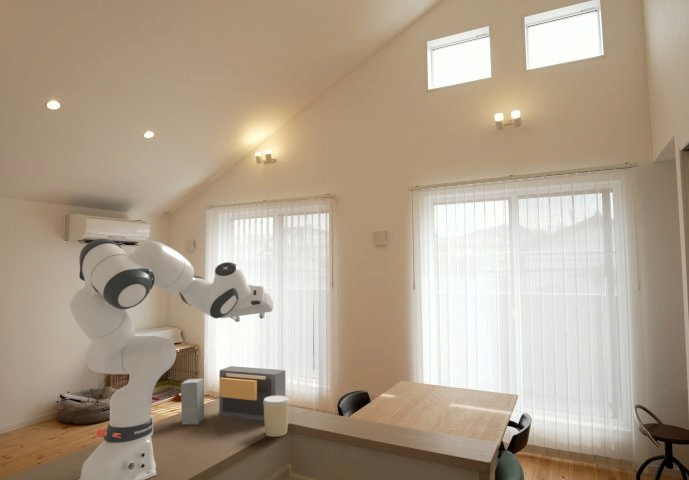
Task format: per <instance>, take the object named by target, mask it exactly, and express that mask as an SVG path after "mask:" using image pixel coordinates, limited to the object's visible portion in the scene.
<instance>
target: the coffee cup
mask: <svg viewBox="0 0 689 480" xmlns="http://www.w3.org/2000/svg"><path fill="white" fill-rule="evenodd" d="M289 403H290V399H289V397H288V396H286V395H285V396H280V395H277V396H269V397H266V398H265V399H264V401H263V404H264V421H263V422H264V432H265V435H266V436H267V437H272V438H274V437H281V436H284V435H286V434H287V433H288V426H289V425H288V422H289V421H288V420H289V407H290V406H289Z"/></svg>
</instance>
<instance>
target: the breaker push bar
mask: <svg viewBox="0 0 689 480" xmlns="http://www.w3.org/2000/svg"><path fill="white" fill-rule="evenodd" d="M218 395H219V394H218ZM218 397H227V398H236V399H246V400H257V381H255V380H243V379H232V378H220V395H219V396H218Z"/></svg>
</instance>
